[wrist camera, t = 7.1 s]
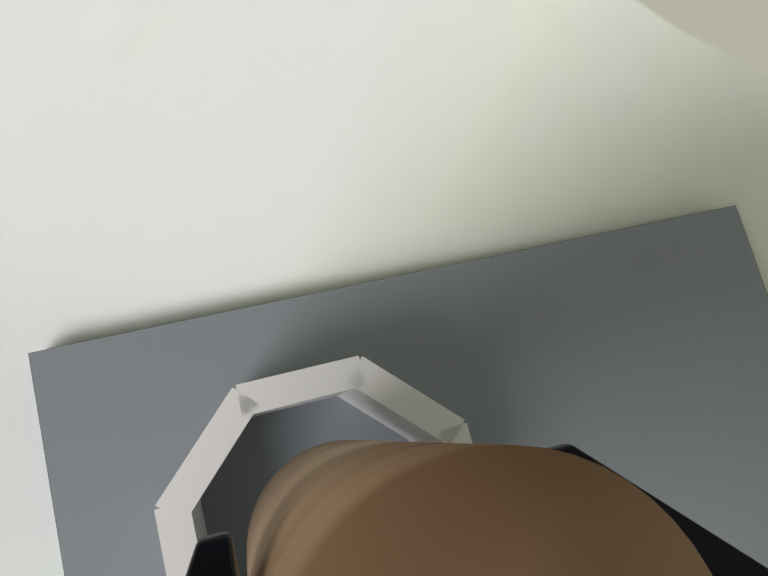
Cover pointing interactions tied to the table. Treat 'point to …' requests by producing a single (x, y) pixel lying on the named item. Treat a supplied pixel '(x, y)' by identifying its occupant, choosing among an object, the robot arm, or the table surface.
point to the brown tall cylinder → (459, 515)
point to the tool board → (424, 388)
